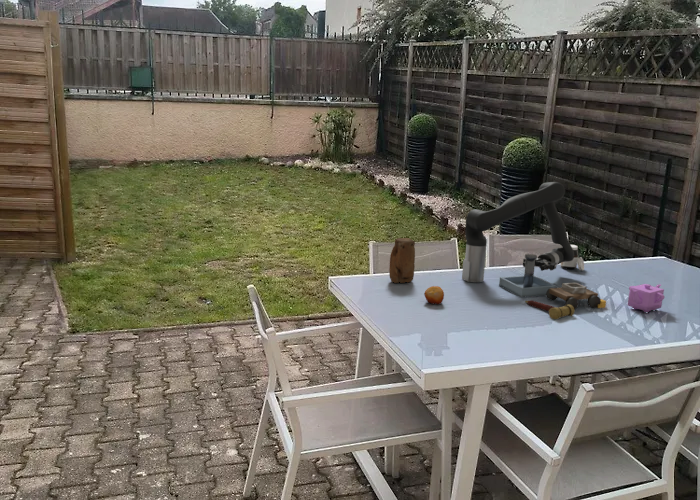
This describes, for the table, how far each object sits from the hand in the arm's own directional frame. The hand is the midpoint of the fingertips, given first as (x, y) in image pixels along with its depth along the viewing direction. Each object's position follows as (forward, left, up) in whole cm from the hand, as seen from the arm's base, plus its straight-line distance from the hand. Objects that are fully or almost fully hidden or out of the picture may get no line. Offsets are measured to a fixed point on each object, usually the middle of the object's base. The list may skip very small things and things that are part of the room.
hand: (532, 266), depth 284 cm
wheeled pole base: (+5, -22, -10) cm, 25 cm away
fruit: (-53, -8, -11) cm, 54 cm away
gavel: (-12, -28, -11) cm, 32 cm away
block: (-54, +24, -11) cm, 60 cm away
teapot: (+30, -36, -11) cm, 49 cm away
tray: (-3, -1, -10) cm, 11 cm away
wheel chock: (+15, -29, -10) cm, 34 cm away
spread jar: (+43, +27, -11) cm, 52 cm away
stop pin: (-3, -1, -9) cm, 10 cm away
